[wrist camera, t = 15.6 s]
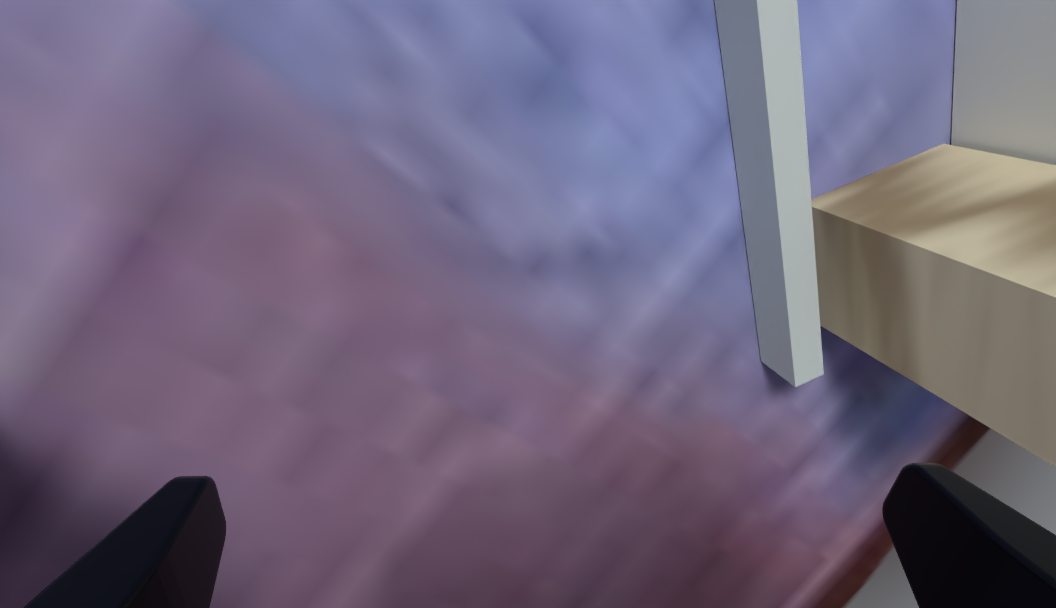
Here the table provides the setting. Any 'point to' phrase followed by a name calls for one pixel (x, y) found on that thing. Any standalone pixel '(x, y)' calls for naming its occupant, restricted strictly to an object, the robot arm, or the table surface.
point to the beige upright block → (951, 282)
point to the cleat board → (782, 154)
